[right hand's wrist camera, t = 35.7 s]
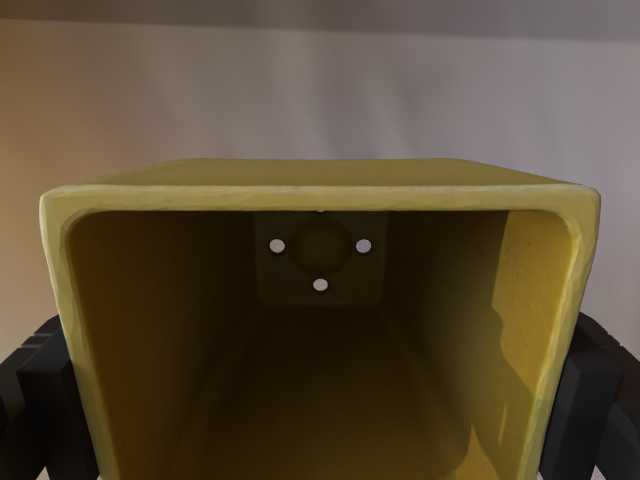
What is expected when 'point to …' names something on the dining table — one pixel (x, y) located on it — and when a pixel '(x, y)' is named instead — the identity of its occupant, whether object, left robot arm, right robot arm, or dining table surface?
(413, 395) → the yellow square planter
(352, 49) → the dining table surface
